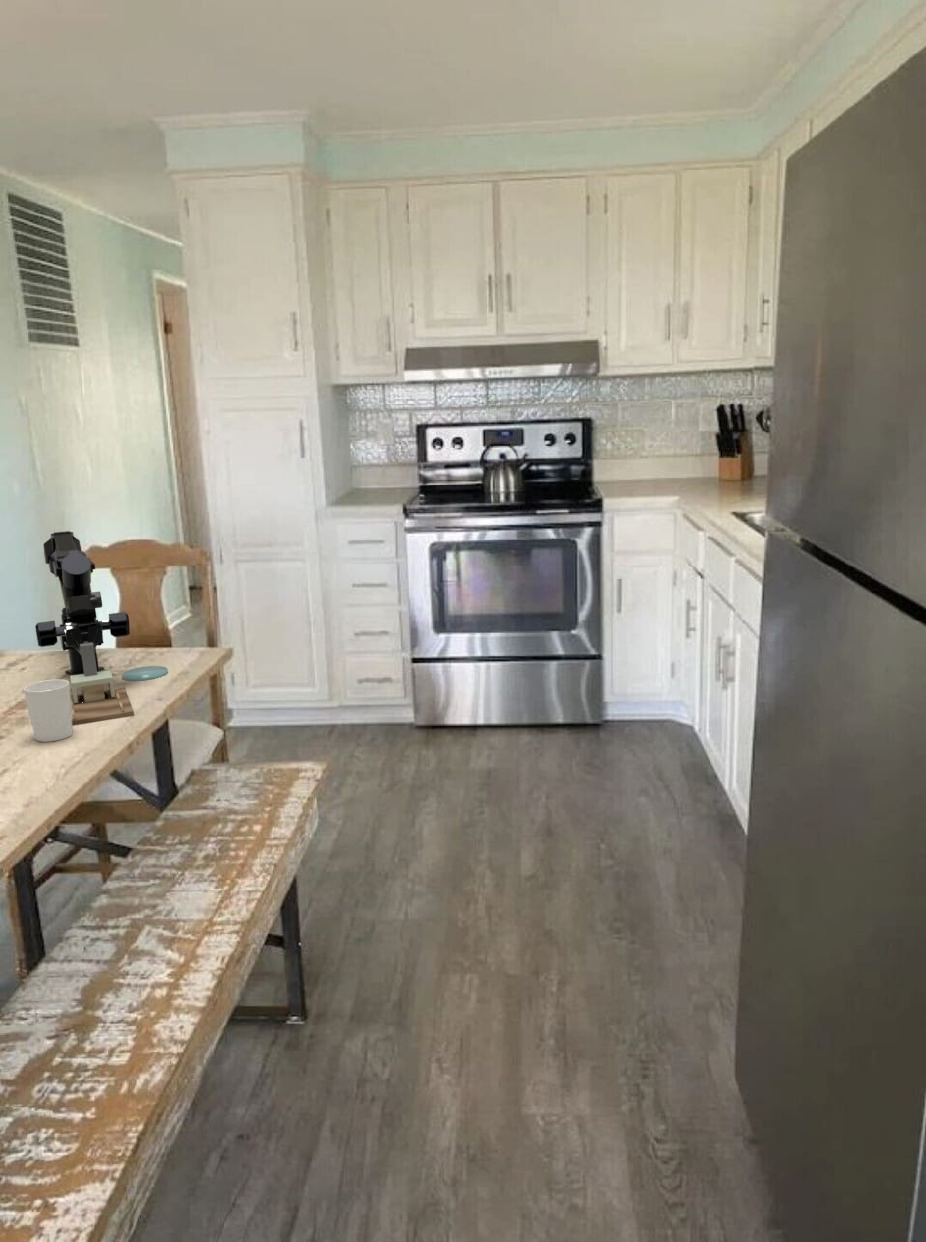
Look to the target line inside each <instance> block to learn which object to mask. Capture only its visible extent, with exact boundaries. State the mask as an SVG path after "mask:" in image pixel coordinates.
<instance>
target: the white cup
mask: <svg viewBox="0 0 926 1242" xmlns="http://www.w3.org/2000/svg"><path fill="white" fill-rule="evenodd" d="M23 692H24V697H25V701H26V706H27V711H28V716H29V718H30V719H29V720H30V724H31V727H32V732H33V736H34V740H36V741H37V742H41V743H43V742H45V743H46V742H47V743H49V742H51V743H52V742H56V741H61V740H64V739H68V738H69V737H71V736H72V735H73V733H74V725H73V724H72V705H71V695H72V694H71V683H70V681H69V680H67V679H62V678H61V679H47V680H46V679H45V680H41V681H36V682H33V683H29V684H27V685H25V687H24V688H23Z"/></svg>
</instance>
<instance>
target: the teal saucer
mask: <svg viewBox="0 0 926 1242" xmlns="http://www.w3.org/2000/svg"><path fill="white" fill-rule="evenodd" d="M168 674H169V671H168V667H166V666H161V665H147V666H140V667H135V668H131V669H128V670H125V671H124V672H122V673H121V677H122V680H124V681H127V682H143V681H144V682H147V681H150V680H157V679H159V677H160V678H163V677H165V676H166V675H168ZM162 676H163V677H162ZM156 678H157V679H156Z"/></svg>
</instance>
